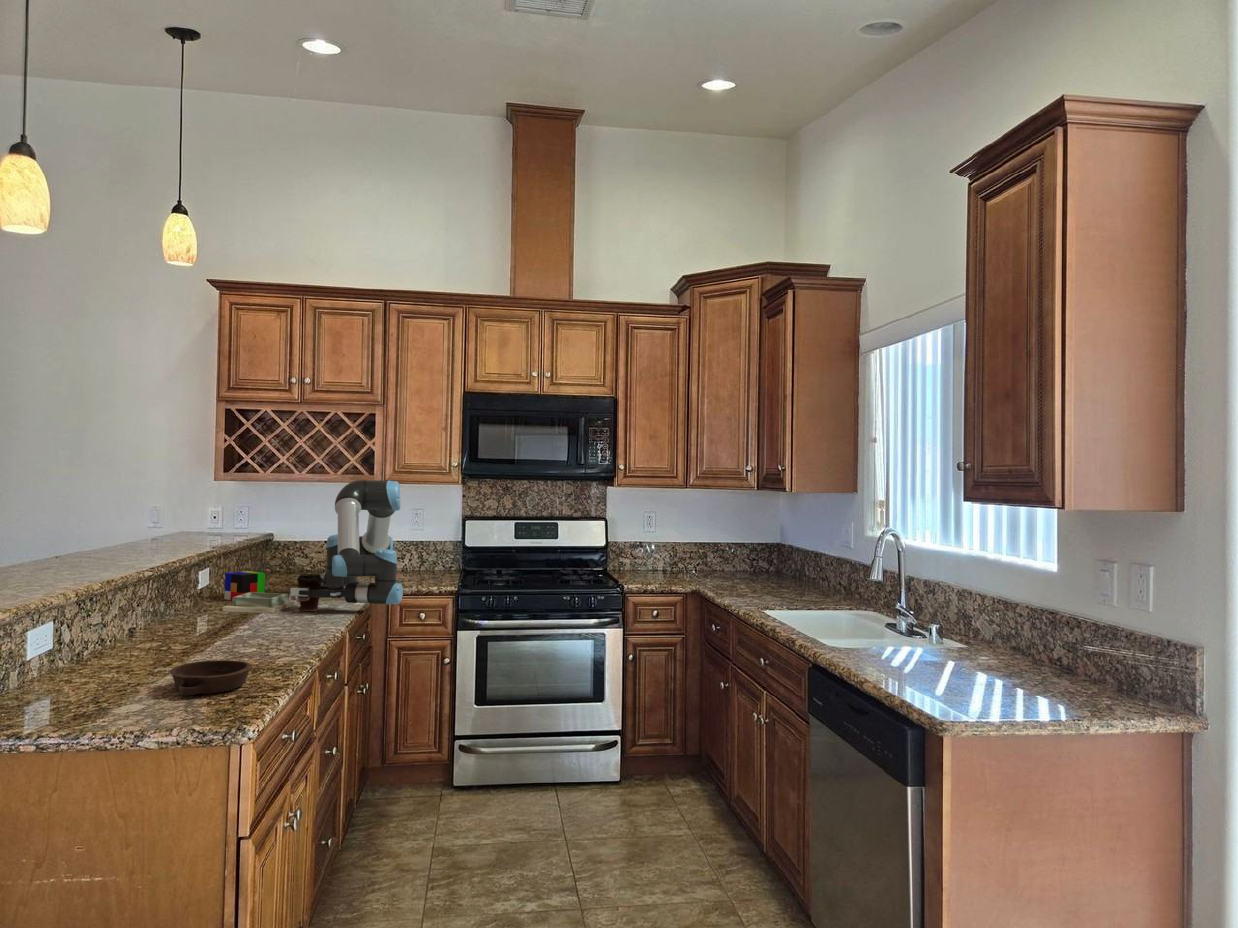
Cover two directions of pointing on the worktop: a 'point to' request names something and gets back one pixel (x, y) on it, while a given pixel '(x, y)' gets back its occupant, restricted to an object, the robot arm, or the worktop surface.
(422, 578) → the worktop surface
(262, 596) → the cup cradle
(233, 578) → the puzzle toy
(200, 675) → the dish
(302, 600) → the coffee cup
